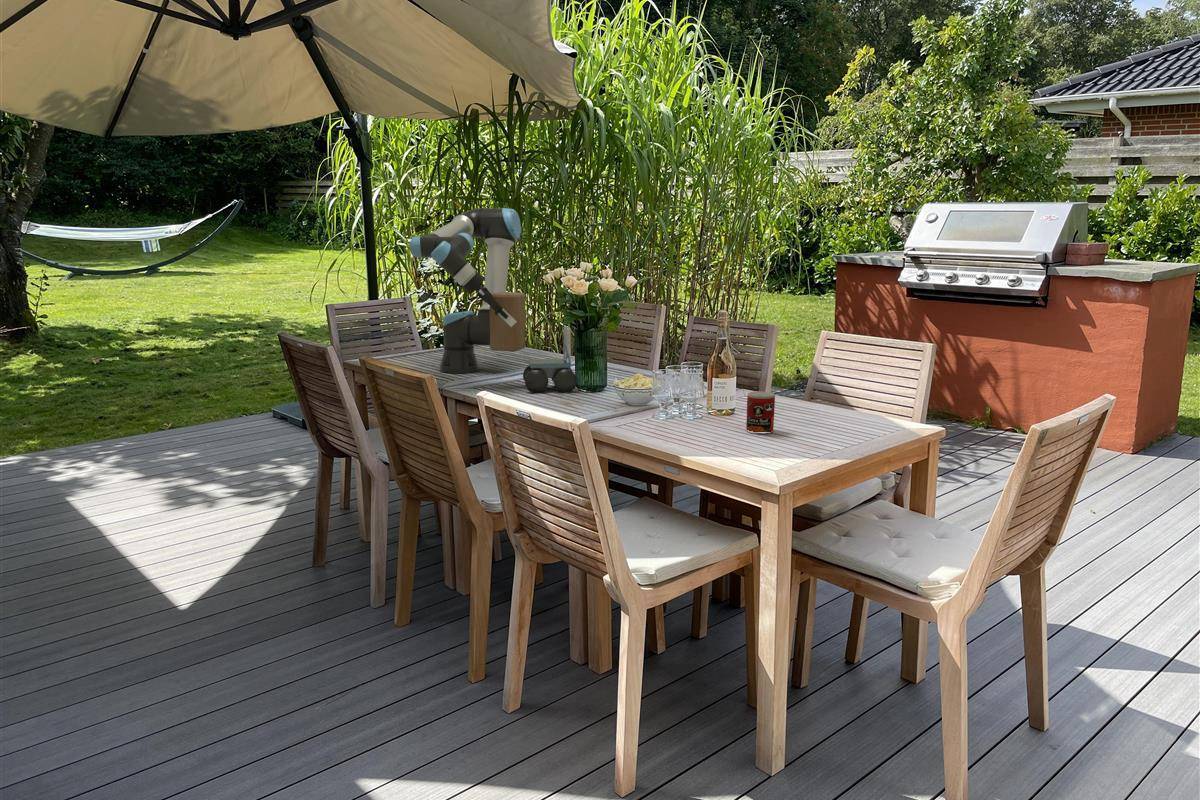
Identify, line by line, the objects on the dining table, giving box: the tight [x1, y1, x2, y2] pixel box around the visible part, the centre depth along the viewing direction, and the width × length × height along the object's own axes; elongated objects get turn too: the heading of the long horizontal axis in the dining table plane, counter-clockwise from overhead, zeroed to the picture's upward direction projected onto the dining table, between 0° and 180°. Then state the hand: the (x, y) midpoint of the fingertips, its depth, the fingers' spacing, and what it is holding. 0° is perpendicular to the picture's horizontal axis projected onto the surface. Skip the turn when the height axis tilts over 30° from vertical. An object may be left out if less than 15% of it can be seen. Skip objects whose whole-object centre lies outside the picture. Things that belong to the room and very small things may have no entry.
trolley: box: [522, 324, 578, 394], centre depth 322 cm, size 14×18×25 cm
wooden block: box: [489, 291, 526, 353], centre depth 324 cm, size 10×10×20 cm
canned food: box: [745, 390, 776, 432], centre depth 261 cm, size 8×8×11 cm
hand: (513, 322), depth 324 cm, fingers closed on wooden block, 13 cm apart
